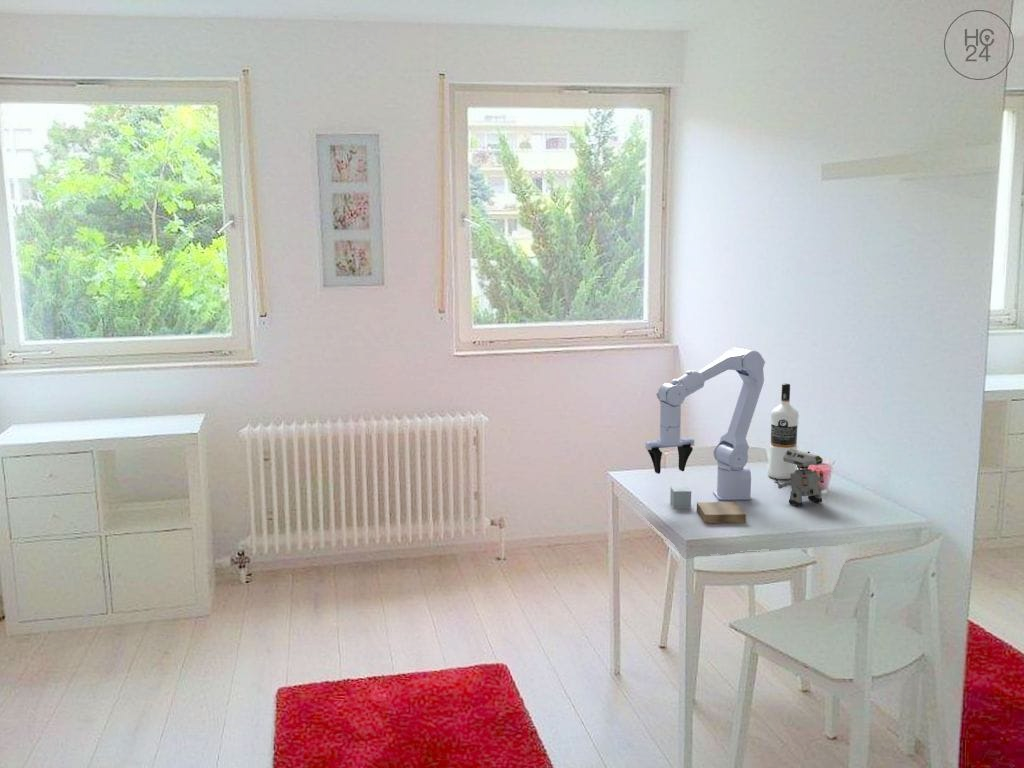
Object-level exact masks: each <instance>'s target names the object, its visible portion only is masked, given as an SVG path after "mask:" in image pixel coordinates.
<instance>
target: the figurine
mask: <svg viewBox="0 0 1024 768" xmlns="http://www.w3.org/2000/svg"><path fill="white" fill-rule="evenodd" d="M783 461H784V462H788V463H792V464H796V465H797V470H795V472H792V473H790V476H791V478H790V479H789V480H788V481H786V482H784V483H780V482H779V481H778V479H775V481H774V484H777V485H778V489H783V488H786V487H788V486H791V487H790V488H791V490H790V496H789V499H788V503H789V505H792V506H795V507H797V508H801V507H803V506H804V503H803V497H807V499H808V500H809V501H812V502H815V503H817V504H819V503H822V502H823V498H822V488H821V486H820V483H821V484H822V483H823V484H824V483H825V480H824V471H823V470H822V469H821V468H820V467H817V468H815V470H813V469H810V468H809V466H811V465H813V466H819V465H822V464H823V461H824V460H823V458H822V457H821V456H820V455H817V454H813V453H811V451H810V450H809V451H807V452H805V451H801V450H794V449H789V450H787V451H786V453H785V455H784V457H783ZM817 470H820V471H819V474H818V471H817Z"/></svg>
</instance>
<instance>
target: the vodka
mask: <svg viewBox="0 0 1024 768" xmlns="http://www.w3.org/2000/svg"><path fill="white" fill-rule="evenodd" d="M790 399H791V384H790V383H782V384H781V397H780V404H778V405H777V406H775V407H774V408H773V409H772V410H771V412H770V419H771V420H770V423H771V427H770V443H769V461H768V466H767V468H766V473H767V476H768V477H770V478H773V479H775V478H776V479H777V480H781V479H789V480H791V479H790V478H791V476H790V473H792V472H795V470H798V468H797V465H796V464H792V463H788V462H784V461H783V457H784V455H785V453H786V451H787V450H789V449H794V450H797V449H798V445H797V443H798V426H799V425H798V424H799V416H800V415H799V411H798V410H797V409H796V408H795V407H794V406H792V405H791V403H790V401H791V400H790ZM776 479H775V480H776Z"/></svg>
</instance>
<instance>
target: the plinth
mask: <svg viewBox="0 0 1024 768" xmlns="http://www.w3.org/2000/svg"><path fill="white" fill-rule="evenodd" d="M696 513H697V514H698V515H699V517H700V518H701V520H702V521H703V523H704V524H705V523H706V524H707V523H711V525H712V523H717V524H746V521H747V513H746V512H745V511H744V510H743V508H741V506H740V505H739V504H738V503H737V502H736V501H723V502H722V501H721V502H720V501H719V502H718V501H715V502H712V501H711V502H708V501H705V502H703V501H702V502H701V501H700V502H699V501H698V502H697V501H696ZM707 525H708V524H707Z"/></svg>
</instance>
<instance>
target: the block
mask: <svg viewBox="0 0 1024 768" xmlns="http://www.w3.org/2000/svg"><path fill="white" fill-rule="evenodd" d="M669 493H670V494H669V495H670V498H669V499H670V500H669V501H670V502H669V503H670V505H671V506H673V507H672V508H673V509H691V508H692V490H691V488H690V487H689V485H688V486H687V485H686V486H682V485H681V486H676V485H675V486H670V492H669Z"/></svg>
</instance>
